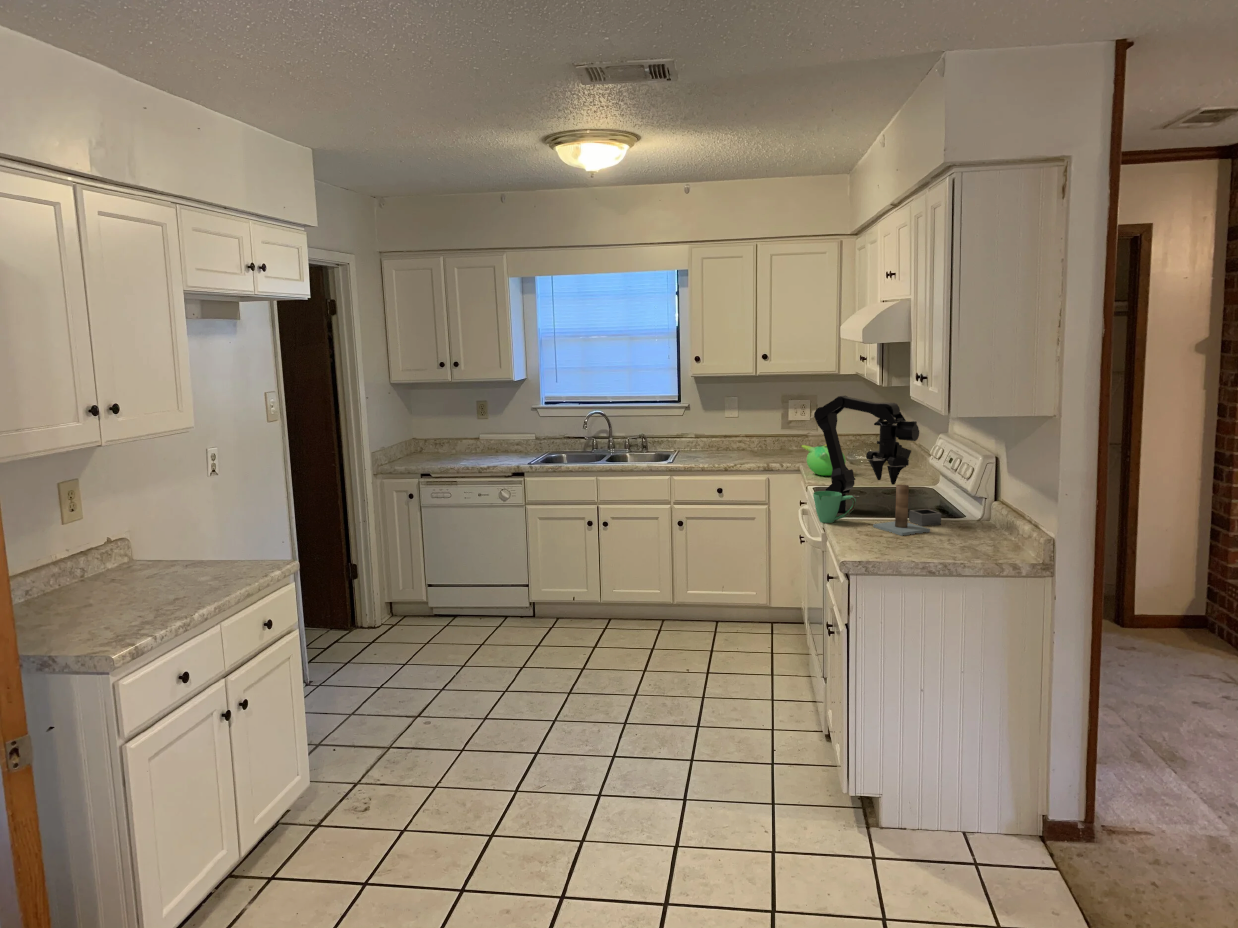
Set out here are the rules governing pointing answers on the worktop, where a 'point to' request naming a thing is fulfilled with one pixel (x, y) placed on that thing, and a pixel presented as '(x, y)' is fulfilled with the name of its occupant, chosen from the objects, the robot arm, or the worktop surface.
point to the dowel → (901, 506)
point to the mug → (830, 505)
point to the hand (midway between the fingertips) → (886, 482)
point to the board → (901, 531)
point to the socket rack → (925, 517)
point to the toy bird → (819, 460)
